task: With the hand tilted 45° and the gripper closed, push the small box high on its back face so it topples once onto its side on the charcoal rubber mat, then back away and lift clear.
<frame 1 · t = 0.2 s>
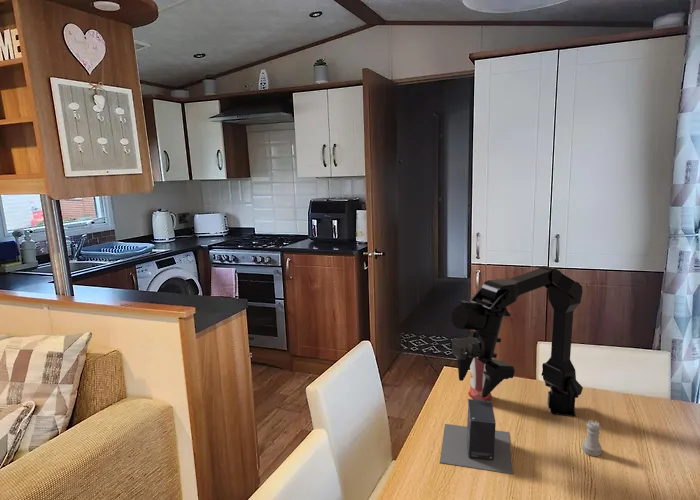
hand: (472, 388, 117), 15 cm above the table, tool pointing down, fingers open, 9 cm apart
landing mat: (475, 447, 118), on the table
rook chess piece: (591, 452, 115), on the table
liquor: (480, 399, 141), on the table
small box: (480, 447, 117), resting on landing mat
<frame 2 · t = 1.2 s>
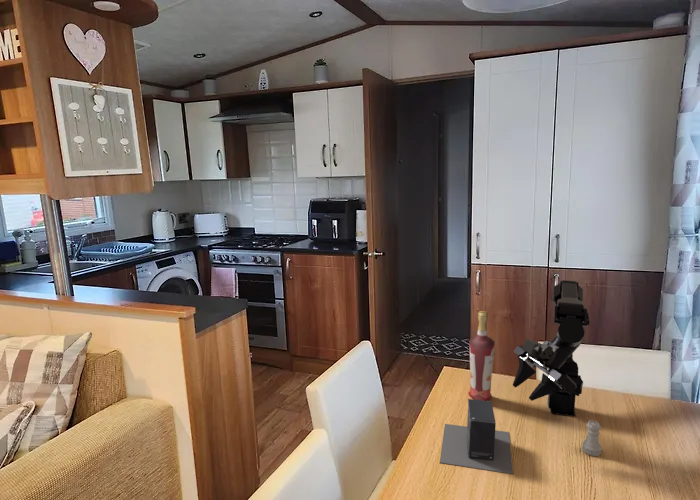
hand: (521, 392, 117), 13 cm above the table, tool tilted 45°, fingers open, 7 cm apart
nothing on the table moved.
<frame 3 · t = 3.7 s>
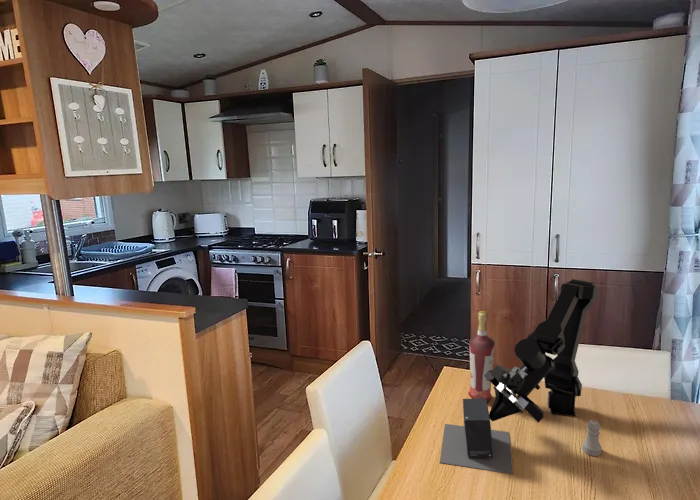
hand: (490, 419, 116), 8 cm above the table, tool tilted 45°, fingers closed
small box: (479, 446, 117), resting on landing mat, touching gripper
everything else where it was.
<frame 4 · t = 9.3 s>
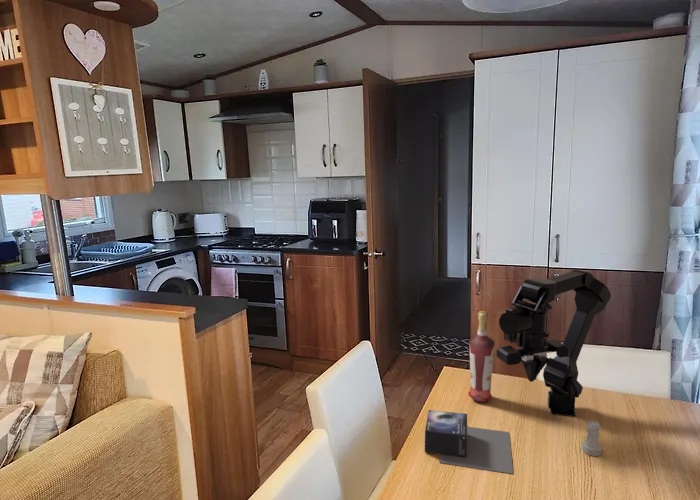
hand: (530, 380, 124), 13 cm above the table, tool pointing down, fingers closed
small box: (468, 434, 117), point 3 cm above the table, touching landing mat
everything else where it was.
at the end: small box tilted 91°; small box touching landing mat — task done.
